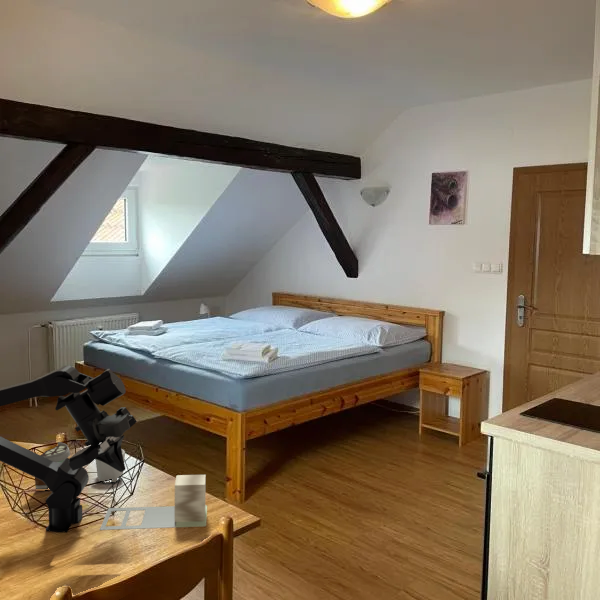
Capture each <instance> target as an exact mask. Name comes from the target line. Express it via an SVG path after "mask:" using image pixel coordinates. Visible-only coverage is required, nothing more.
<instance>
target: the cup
mask: <svg viewBox="0 0 600 600" xmlns="http://www.w3.org/2000/svg"><path fill="white" fill-rule="evenodd" d="M121 450H122V455H123V460H124V461H125V458H126V451H125V450H124V449H122V448H121ZM94 461H95V467H96V475H97V478H98V481H99V482H100V481H104V480H108V479H113V480H112V482H115V483H117V482H116V481H117V478H118V477H119V476H121V475H122V474H123V475H124V471H123V472H120V471H118V470H116V469H114V468H113V467H111V466H109V465H107V464H106V463H104V462H102V461H99V460H97V459H94ZM105 484H111V483H110V481H109V482H106V483H105Z"/></svg>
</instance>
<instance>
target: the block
mask: <svg viewBox="0 0 600 600" xmlns="http://www.w3.org/2000/svg"><path fill="white" fill-rule="evenodd" d="M206 476H207V474H182V475H181V474H180V475H179V474H178V475H176V477H175V481H174V506H175V522H193V521H205V505H206V492H207V491H206V479H207V478H206Z"/></svg>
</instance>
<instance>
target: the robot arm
mask: <svg viewBox="0 0 600 600" xmlns="http://www.w3.org/2000/svg"><path fill="white" fill-rule="evenodd" d="M69 393H70V394H69ZM125 394H126V386H125V384H124V383H123V381H122V378H121V377H119V376H118V375H117V374H116V373H114V372H113V371H112V370H111V369H110V368H107V369H106V370H105V371H103V372H102V373H101V374H99V375H97V376H95V377H93V376H89V375H87V374H84V373H81V372H79V370H78V369H77V368H75V367H74V366H72V365H63V366H60V367H59V368H56V369H54V370H52V371H49V372H48V373H46V374H44V375H41V376H40V377H37V378H34V379H30V380H27V381H23V382H18V383H16V384H12V385H7V386H3V387H0V407H3V406H6V405H10V404H14V403H18V402H21V401H22V402H23V401H25V400H29V399H33V398H39V397H47V398H52V397H58V398H57V402H56V406H55V408H54V409H55V411H59V410H60V409H63V408H66V410H67V411H68V413H69V415H70V416H71V418H72V419H73V420H74V422H75V423H76V425H77V426H75V428H74V429H75V430H76V432H79V431H81V433H82V434H83V437H85V439H86V441H84V445H85V447H84V448H82V449H79V450H78V451H76V452H75V453H74V454H73V455H71V456H70V457H68V458H66V459H65V460H64V461H63V462H62V463H61V462H53V461H51V460H49V459H47V458H45V457H43V456H40V455H41V454H39V453H36V452H34V451H32V450H30V449H27V448H25V447H23V446H22V445H19V444H17V443H15V442H13V441H11V440H9V439H6V438H4V437H3V436H0V462H2V463H3V464H5V465H8V466H10V467H12V468H14V469H16V470H19V471H21V472H23V473H25V474H27V475H29V476H32V477H34V479H35V478H38V479H40V480H42V481H43V482H44V483H45V484H46V486H47V487H48V488H49V489H50V491H49V492H51V493H50V494H49V495H48V496H47V497H46V499H45V503H46V506H47V508H48V525H47V527H46V528H45V532H52V533H53V532H54V533H68V531H69V530H70V528H71V525H75V524H79V523H80V521H82V519H83V505H82V504H81V498H80V497H79V496H80V495H81V493H82V492H83V491H84V489H85V487H86V486H87V485H88V482H89V477H90V476H89V473H88V470H87V469H86V468H85V467H86V466H88V465H89V464H91V463H92V462H93V461H95V459H97V460H99V461H102V462H104V463H106V464H107V465H109V466H111V467H113V468H114V469H116V470H118V471H120V472H123V473H124V471H125V470H126V465H125V459H124V460H123V455H122V450H121V449H122V442H123V440H124V438H125V435H124V433H125V432H127V431H128V430H130V428H132V427H133V426H134V425H135V424H136V423H138V421H137V420H136V418H135V416H134V415H133V414H131V413H130V411H129V410H128V409H127V407H126V406H125V407H122V406H121V407H120V408H118V409H117V410H116V411H115V413H113V414H112V415H109V414H108V413H107V411H105V409H103V410H101V411H100V409H99V405H100V406H103V407H104V406H106V405H107V404H109V403H111V402H113V401H114V400H115V399H119V398H120V397H121V396H123V395H125ZM66 395H67V396H66Z"/></svg>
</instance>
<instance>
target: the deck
mask: <svg viewBox="0 0 600 600" xmlns="http://www.w3.org/2000/svg"><path fill="white" fill-rule="evenodd" d="M121 511H122V512H123V511H124V512H125V513H124V516H123V519H122V523H121V525H110V526H109V525H108V526H107V523H108V521H109V519H110V517H111V514H112V512H121ZM131 511H144V514H143V517H142V519H141V524H139V525H138V524H137V525H127V522H128V520H129V518H130V517H129V516H130V513H131ZM207 513H208V505H207V504H205V521H193V522H175V505H171V506H170V505H169V506H139V507H138V506H136V507H109V508H107V511H106V513H105V516H104V519H103V521H102V523H101V526H100V527H99V531H107V530H108V531H110V530H114V531H115V530H138V529H140V530H141V529H142V530H145V529H165V528H166V529H169V528H192V527H193V528H195V527H197V528H198V527H207V515H208V514H207Z"/></svg>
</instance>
